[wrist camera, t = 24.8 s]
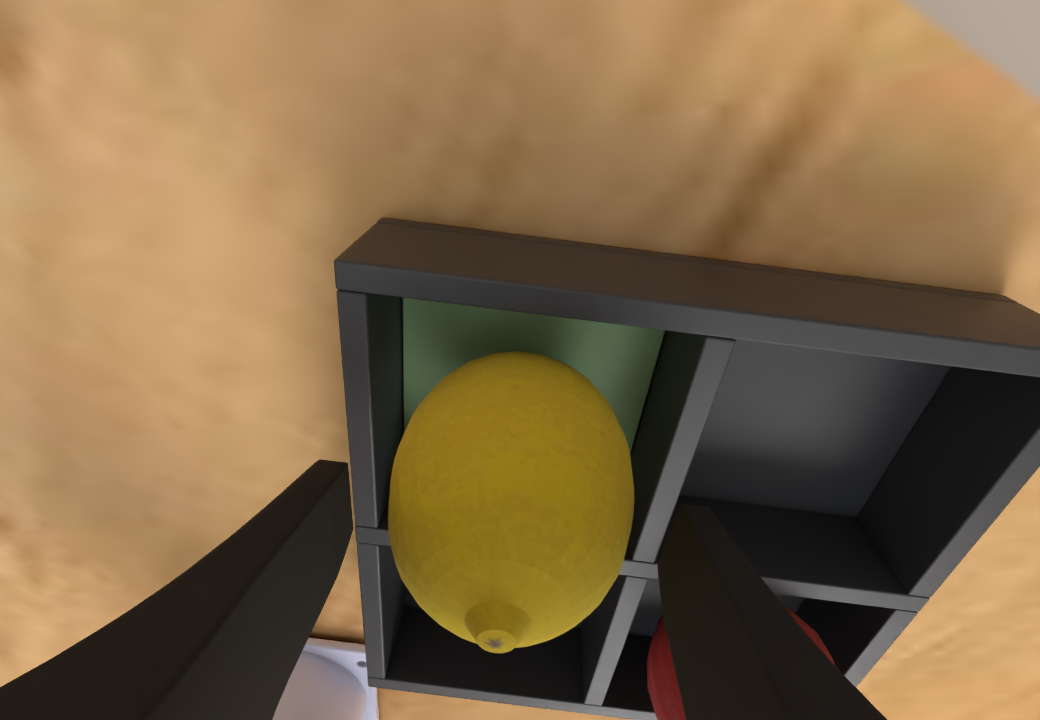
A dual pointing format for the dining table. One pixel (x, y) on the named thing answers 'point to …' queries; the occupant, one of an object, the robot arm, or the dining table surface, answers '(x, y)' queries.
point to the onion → (664, 676)
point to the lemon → (511, 500)
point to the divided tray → (696, 435)
